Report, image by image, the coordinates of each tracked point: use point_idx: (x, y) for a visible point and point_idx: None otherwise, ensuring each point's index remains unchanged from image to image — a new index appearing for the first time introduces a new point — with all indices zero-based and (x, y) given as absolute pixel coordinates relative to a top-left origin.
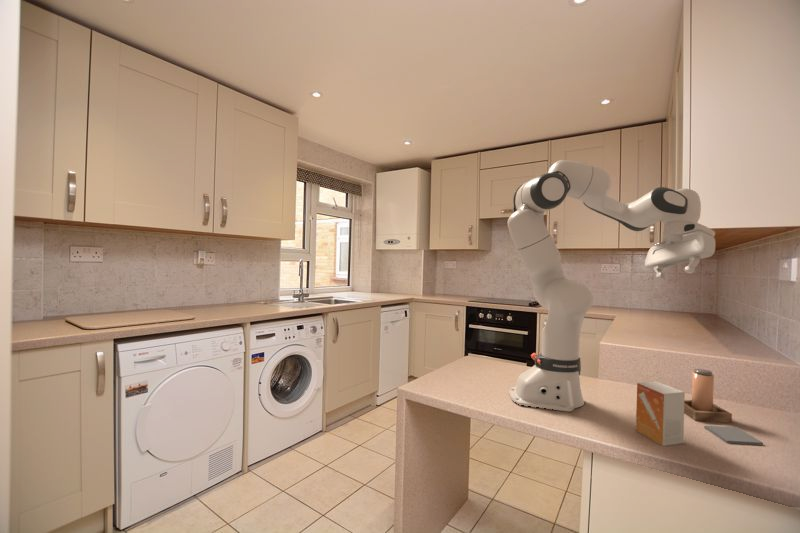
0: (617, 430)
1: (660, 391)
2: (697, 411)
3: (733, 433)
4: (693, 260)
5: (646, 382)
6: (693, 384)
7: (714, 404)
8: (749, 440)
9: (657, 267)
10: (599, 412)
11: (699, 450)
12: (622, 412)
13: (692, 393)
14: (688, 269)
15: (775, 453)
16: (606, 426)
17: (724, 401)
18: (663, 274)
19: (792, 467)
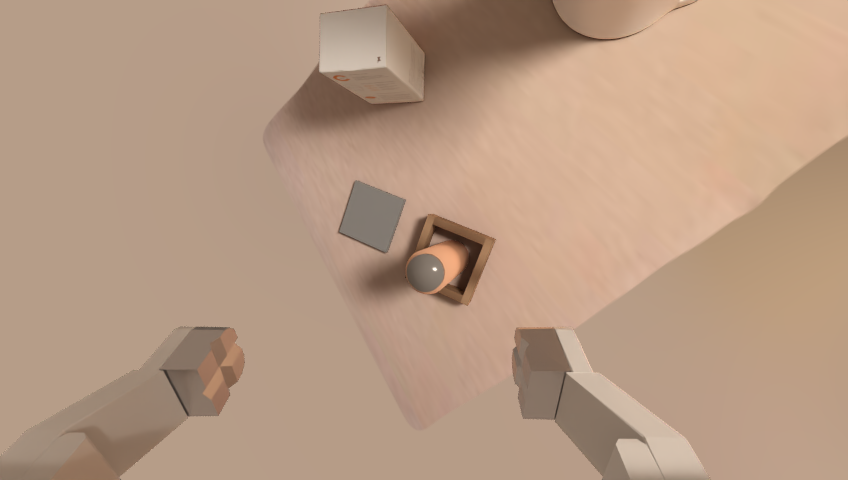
0: (435, 17)
1: (331, 17)
2: (429, 222)
3: (370, 219)
4: (57, 421)
5: (382, 30)
6: (442, 248)
7: (448, 296)
8: (348, 218)
9: (625, 448)
10: (516, 36)
11: (349, 110)
12: (502, 92)
13: (451, 247)
14: (183, 331)
15: (321, 221)
16: (454, 5)
17: (492, 380)
18: (524, 393)
19: (292, 199)
